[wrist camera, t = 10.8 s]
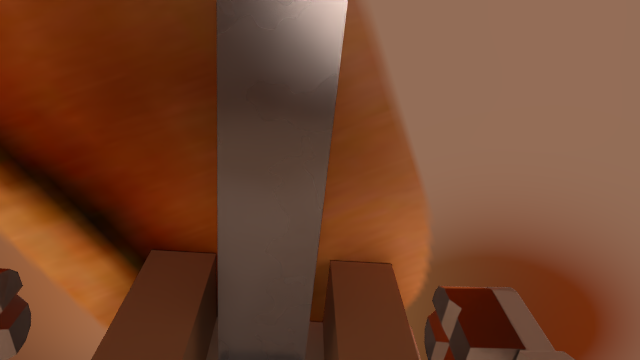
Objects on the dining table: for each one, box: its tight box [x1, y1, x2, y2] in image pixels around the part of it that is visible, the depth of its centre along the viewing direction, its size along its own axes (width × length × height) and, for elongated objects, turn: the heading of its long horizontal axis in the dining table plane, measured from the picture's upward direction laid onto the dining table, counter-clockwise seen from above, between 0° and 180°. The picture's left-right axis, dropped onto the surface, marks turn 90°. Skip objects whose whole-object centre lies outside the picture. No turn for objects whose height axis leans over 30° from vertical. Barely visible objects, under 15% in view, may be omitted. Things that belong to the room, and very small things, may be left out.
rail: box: [217, 0, 348, 360], centre depth 16 cm, size 17×4×5 cm, turn 174°
